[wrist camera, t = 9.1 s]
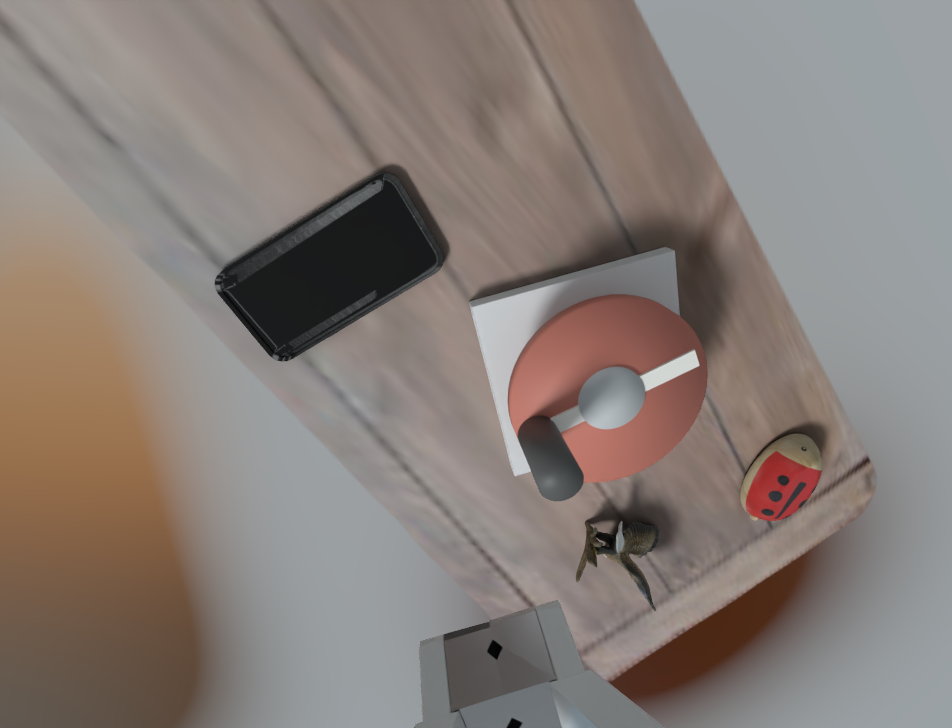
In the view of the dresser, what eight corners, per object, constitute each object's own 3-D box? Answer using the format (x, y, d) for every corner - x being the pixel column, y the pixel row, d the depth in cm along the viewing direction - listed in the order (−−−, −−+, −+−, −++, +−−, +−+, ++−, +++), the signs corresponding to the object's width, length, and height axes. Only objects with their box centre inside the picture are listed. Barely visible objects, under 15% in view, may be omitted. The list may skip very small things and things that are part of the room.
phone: (207, 280, 36) (390, 166, 35) (212, 276, 37) (391, 165, 36) (279, 367, 40) (450, 266, 38) (282, 362, 41) (448, 262, 39)
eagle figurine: (559, 572, 52) (638, 604, 53) (589, 588, 45) (679, 624, 46) (583, 498, 54) (659, 530, 55) (615, 502, 47) (701, 539, 48)
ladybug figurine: (824, 437, 52) (852, 457, 49) (772, 516, 55) (796, 540, 52) (770, 422, 50) (796, 442, 47) (720, 505, 53) (741, 529, 50)
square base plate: (468, 301, 41) (477, 320, 36) (665, 246, 41) (695, 259, 37) (511, 466, 47) (522, 497, 43) (679, 417, 48) (706, 443, 44)
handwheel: (667, 256, 36) (730, 284, 30) (717, 421, 43) (777, 474, 36) (473, 352, 37) (491, 401, 30) (550, 500, 43) (579, 567, 37)
